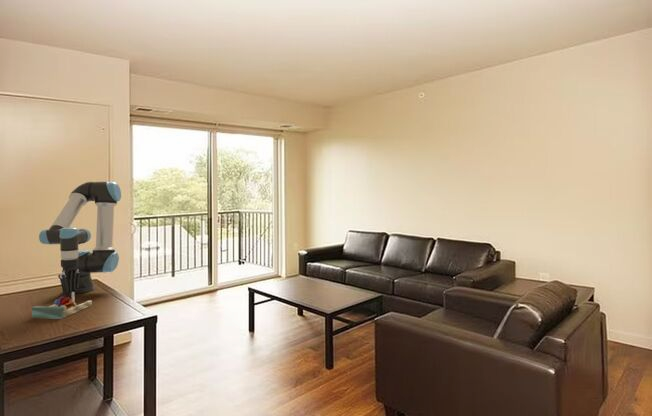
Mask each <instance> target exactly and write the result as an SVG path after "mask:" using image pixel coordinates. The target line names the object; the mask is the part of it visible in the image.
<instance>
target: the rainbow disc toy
mask: <svg viewBox="0 0 652 416" xmlns="http://www.w3.org/2000/svg"><path fill="white" fill-rule="evenodd" d="M69 301H70V298H69V297H67V296H66V297H65V296H60V297H59V298H58V299H55V300H54V301H53V302H54V303H53V304H52V305H53V306H52V307H64V311H65V310H67V309H70V308H72V307H74V306H77V303H76V302H73V301H71V302H69ZM54 304H55V305H54Z"/></svg>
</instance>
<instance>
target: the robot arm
mask: <svg viewBox="0 0 652 416" xmlns="http://www.w3.org/2000/svg"><path fill="white" fill-rule="evenodd" d="M121 199H122V190H121V188H120V185H119V184H118V183H117V182H114V181H87V182H84V183H82V184H80V185H78V186H77V187H76V188H74V189H72V192H71V193H70V194H69V196H68V200H67V202H66V203H65V205H64V206H63V208H62V209H61V211H60V212H59V214H58V215H57V217H56V219H54V221H53V223H52V224H51V225H50V227H49V228H48V229H42V230H41V231H40V233H39V235H38V240H39V242H40V243H41V244H42V245H60V247H59V249H60V267H61V268H62V270H61V271H62V272H61V274H58V275H57V276H58V278H59V281H60V285H61V289H62V290H61V291H62V293H64V294H66V297H69V298H70V301H69V302H71V301H73V302H75V299H76V298H75V297H76V294H82V293H87V292H90V291H94V290H95V284H94V281H93V278H92V277H91V276H92V275H91V273H92V274H93V273H94V274H95V273H104V274H105V273H112V272H114V271H115V270H116V269H117V268H118V264H119V259H120V255H119V253H117V252H116V248H114V247H113V239H114V238H113V236H114V212H115V206H117V205H118V202H120V201H121ZM89 202H94V205H95V206H96V207H97V212H96V231H95V232H96V233H95V247H94V248H93V249H92V251H91V250H90V249H86V250H85V249H84V250H79V245H81V244H86V243H87V242H89V241H90V240H91V238H92V234H91V232H90V231H89V230H88V229H87V228H79V229H78V227H74V226H73V227H71V225H72V224H73V222H74V221H75V219H76V217H77V216H78V214H79V213H80V211H81V209H82V208H83V206H86V205H87V204H88V203H89ZM75 303H76V302H75Z"/></svg>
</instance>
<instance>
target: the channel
mask: <svg viewBox="0 0 652 416" xmlns="http://www.w3.org/2000/svg"><path fill="white" fill-rule="evenodd" d="M53 305H55V303H53V304H52V305H49V306H43V305H41V306H40V305H35V306H32V307H31V318H32V319H45V320H47V319H49V320H62V319H64V318H66V317H68V316H71V315H73V314H75V313H78V312H80V311H83V310H84V309H86V308H89V307H92V306H93V300H87V301H84V302H81V303H79V304H76V306H74V307H72V308H70V309H67V310H65V311H64V307H52V306H53Z"/></svg>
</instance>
